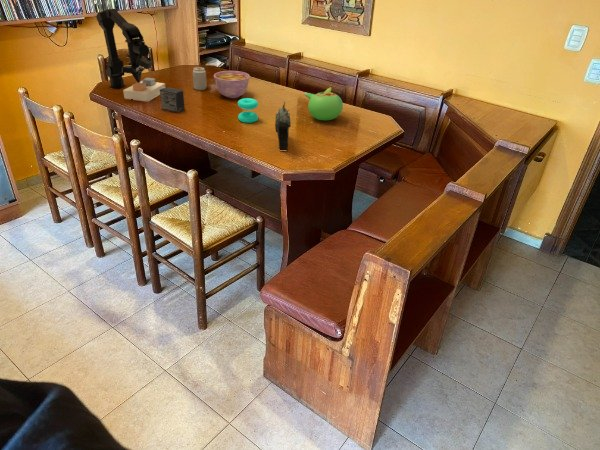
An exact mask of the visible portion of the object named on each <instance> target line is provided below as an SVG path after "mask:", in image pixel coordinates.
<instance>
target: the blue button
mask: <svg viewBox="0 0 600 450" xmlns="http://www.w3.org/2000/svg"><path fill="white" fill-rule="evenodd" d="M141 81H142V82H143V83H146V86H153V85H155V82H156V78H154V77H153V78H152V77H145V78H144V79H142V80H141Z"/></svg>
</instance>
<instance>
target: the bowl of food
mask: <svg viewBox="0 0 600 450" xmlns="http://www.w3.org/2000/svg"><path fill="white" fill-rule="evenodd" d="M250 76H251V75H250V74H249V73H247V72H244V71H239V70H224V71H217V72H215V73H214V74H213V78H214V81H215V86H216V89H217V91H218V92H219V93H220V94H221V95H222V96H224V97H226V98H229V99H237V98H240V97H241V96H243V95H244V94H246V92H247V90H248V85H249V81H250Z"/></svg>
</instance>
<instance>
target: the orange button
mask: <svg viewBox="0 0 600 450" xmlns="http://www.w3.org/2000/svg"><path fill="white" fill-rule="evenodd" d="M132 86H133V90H135V91H144V90H146V83H138V82H137V81H136V82H135V83H134V84H132Z"/></svg>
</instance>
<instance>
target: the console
mask: <svg viewBox="0 0 600 450" xmlns="http://www.w3.org/2000/svg"><path fill="white" fill-rule="evenodd" d="M140 83H143V82H142V80H140ZM163 88H166V83H164V82H158V81H157V82H156V81H155V85H153V86H146V90H144V91H135V90H133V85H131V86H129V87H126V88H125V89H123V90H122V91H123V97H124V99H125V100H131V99H133V101H140V102H151V101H152V100H153V99H155V98H156V97H158V96H160V89H163Z"/></svg>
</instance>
